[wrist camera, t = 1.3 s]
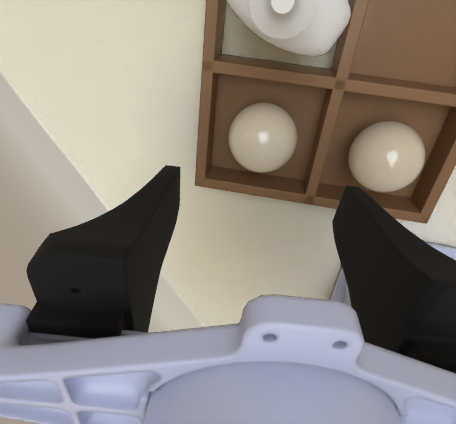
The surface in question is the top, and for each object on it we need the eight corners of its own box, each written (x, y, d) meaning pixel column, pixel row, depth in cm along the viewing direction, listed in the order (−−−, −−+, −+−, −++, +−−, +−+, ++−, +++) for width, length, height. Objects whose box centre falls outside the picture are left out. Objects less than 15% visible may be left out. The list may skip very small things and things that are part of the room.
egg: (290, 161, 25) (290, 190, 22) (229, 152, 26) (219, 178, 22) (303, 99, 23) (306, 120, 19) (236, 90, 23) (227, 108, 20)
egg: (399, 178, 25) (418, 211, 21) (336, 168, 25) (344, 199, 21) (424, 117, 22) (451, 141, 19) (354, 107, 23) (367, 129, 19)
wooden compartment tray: (415, 204, 26) (426, 223, 24) (202, 170, 27) (194, 185, 25) (542, -72, 17) (578, -82, 15) (222, -106, 19) (213, -120, 16)
